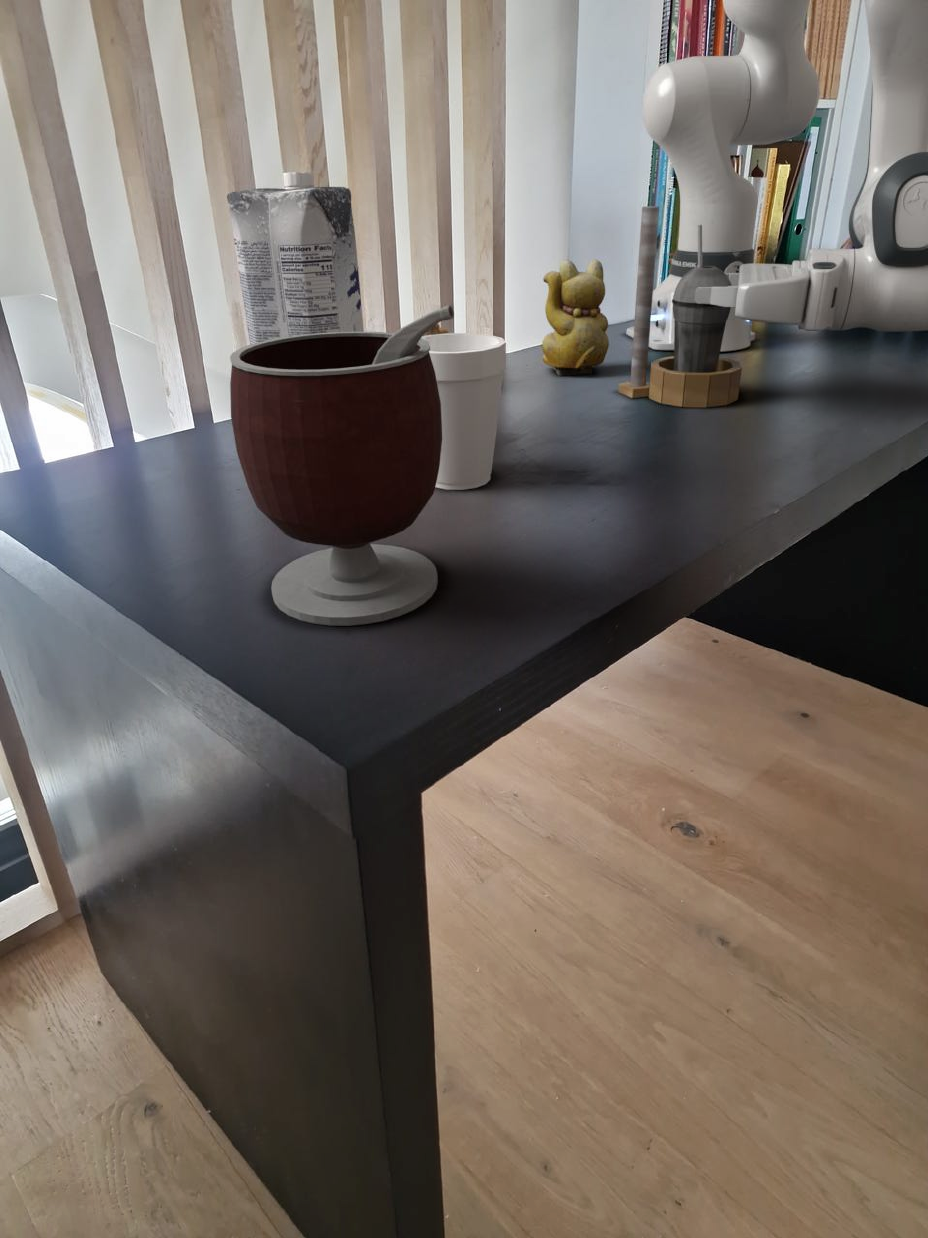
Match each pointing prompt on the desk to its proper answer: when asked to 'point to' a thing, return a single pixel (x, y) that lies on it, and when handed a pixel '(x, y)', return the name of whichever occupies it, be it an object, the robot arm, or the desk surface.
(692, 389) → the holder
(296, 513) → the mate gourd
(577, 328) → the decorative figurine
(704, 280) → the beverage cup
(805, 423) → the desk surface
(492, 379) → the foam cup
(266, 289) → the juice carton
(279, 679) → the desk surface
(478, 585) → the desk surface
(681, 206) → the robot arm
